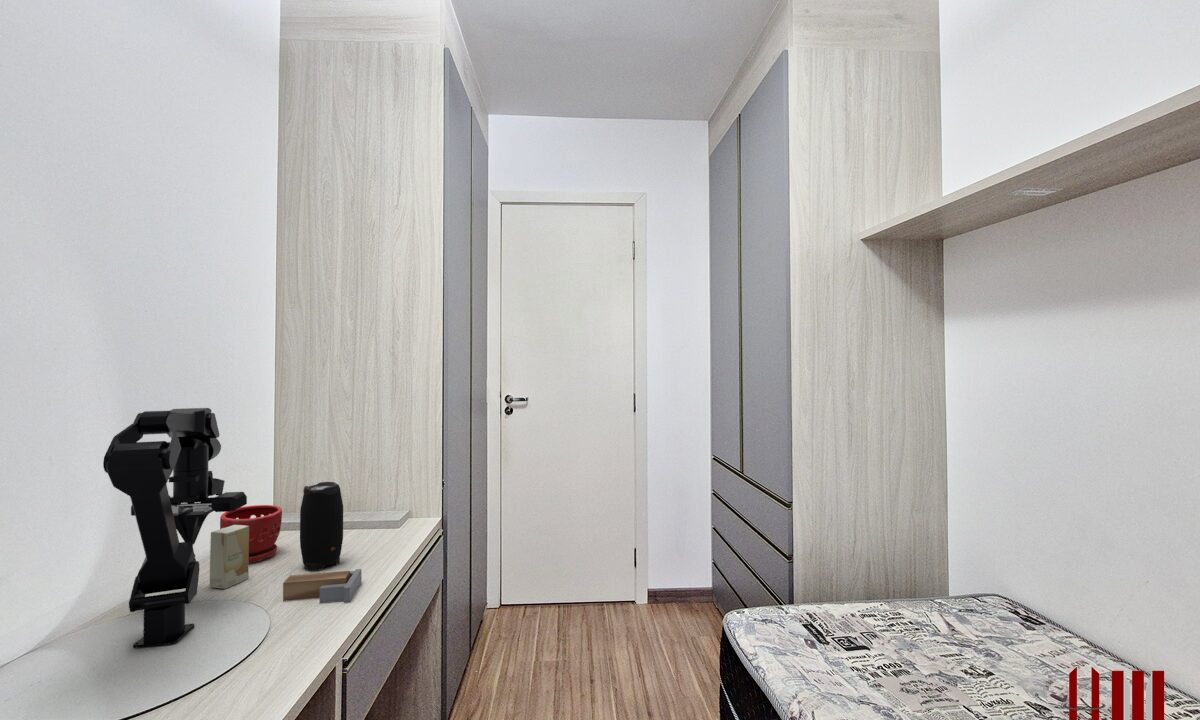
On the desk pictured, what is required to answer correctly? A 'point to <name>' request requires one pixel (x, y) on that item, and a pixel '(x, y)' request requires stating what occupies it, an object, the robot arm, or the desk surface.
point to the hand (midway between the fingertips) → (190, 545)
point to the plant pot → (257, 528)
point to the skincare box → (229, 556)
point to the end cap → (341, 589)
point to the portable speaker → (321, 525)
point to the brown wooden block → (311, 584)
